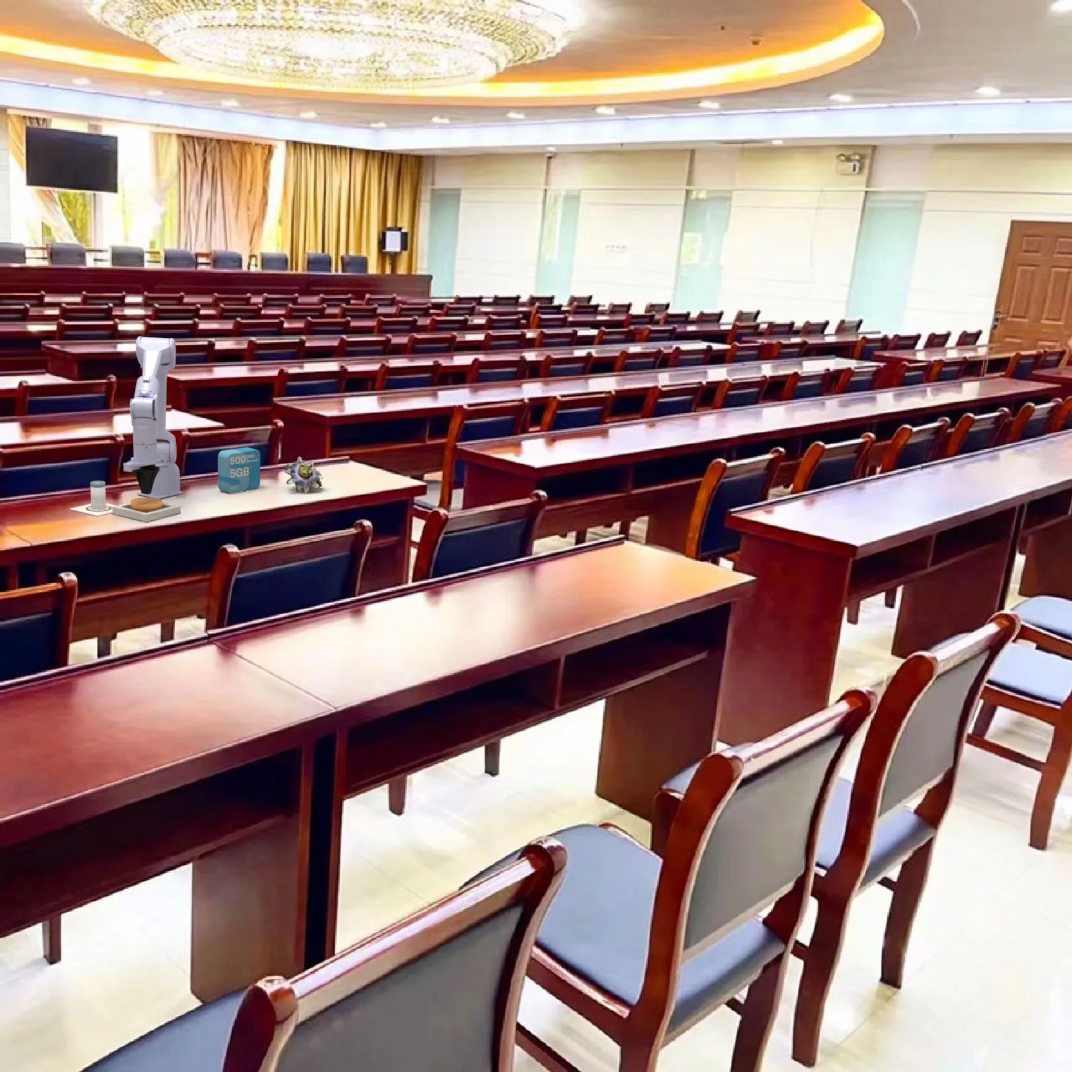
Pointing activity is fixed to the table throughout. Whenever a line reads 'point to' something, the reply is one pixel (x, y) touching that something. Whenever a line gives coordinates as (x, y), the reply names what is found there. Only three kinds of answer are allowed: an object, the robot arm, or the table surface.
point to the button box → (145, 512)
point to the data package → (238, 470)
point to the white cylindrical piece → (98, 495)
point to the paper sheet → (89, 510)
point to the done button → (146, 504)
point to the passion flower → (303, 475)
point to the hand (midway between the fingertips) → (146, 493)
